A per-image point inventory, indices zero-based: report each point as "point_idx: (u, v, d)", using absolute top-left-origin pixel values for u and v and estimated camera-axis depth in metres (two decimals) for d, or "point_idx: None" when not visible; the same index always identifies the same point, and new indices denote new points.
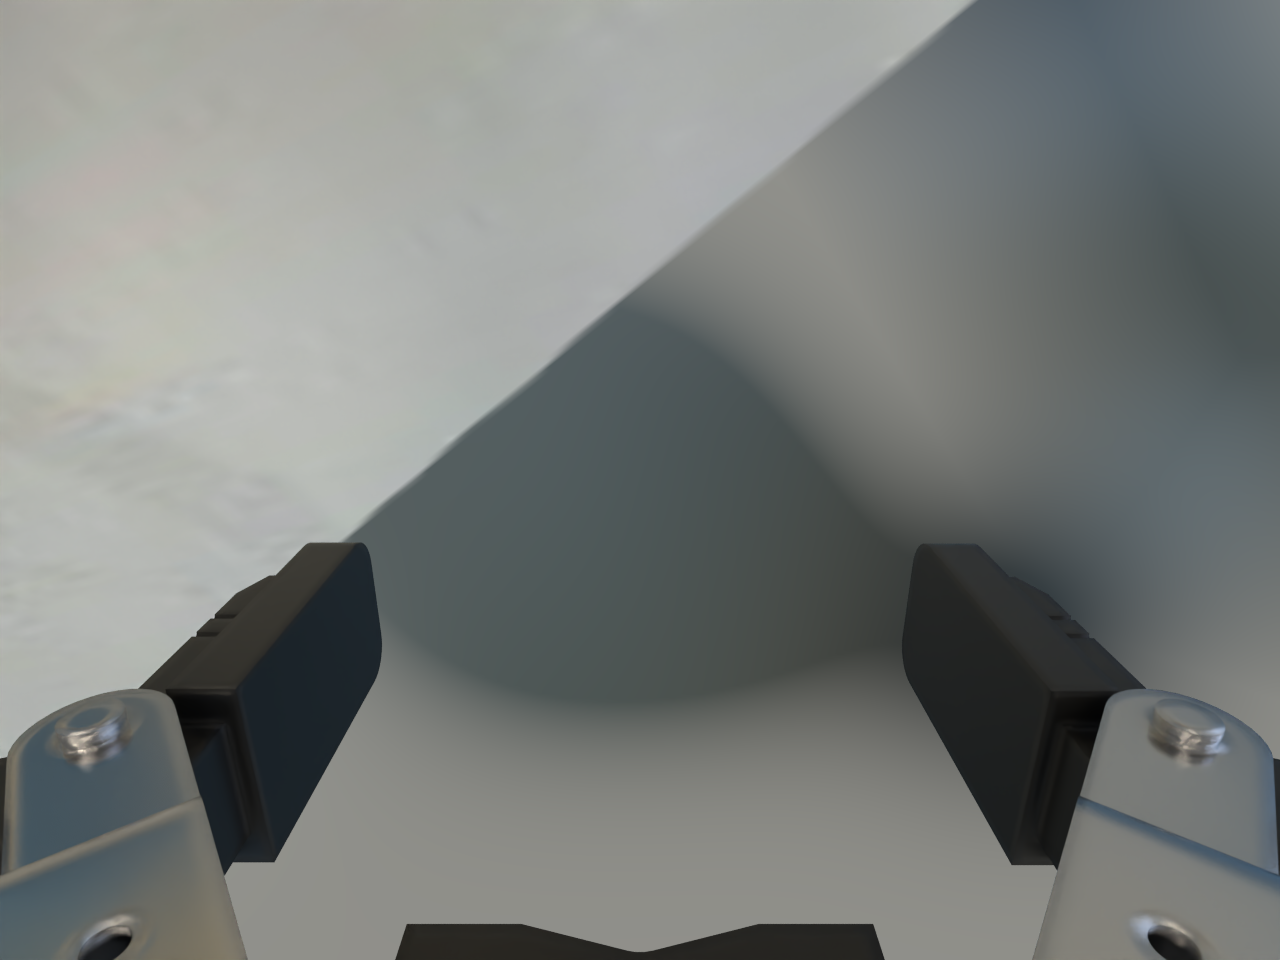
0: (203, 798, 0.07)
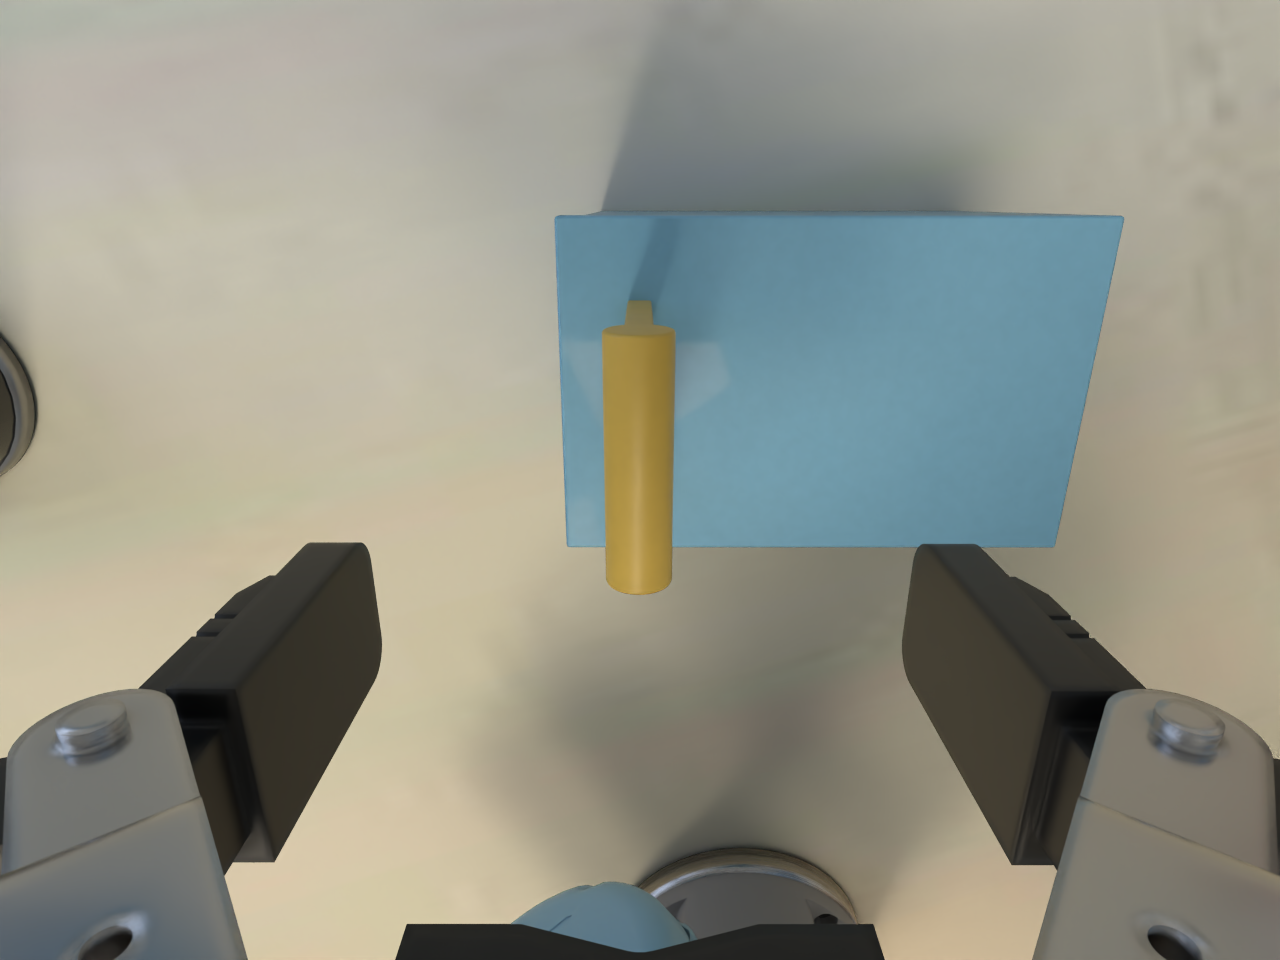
0: (203, 798, 0.07)
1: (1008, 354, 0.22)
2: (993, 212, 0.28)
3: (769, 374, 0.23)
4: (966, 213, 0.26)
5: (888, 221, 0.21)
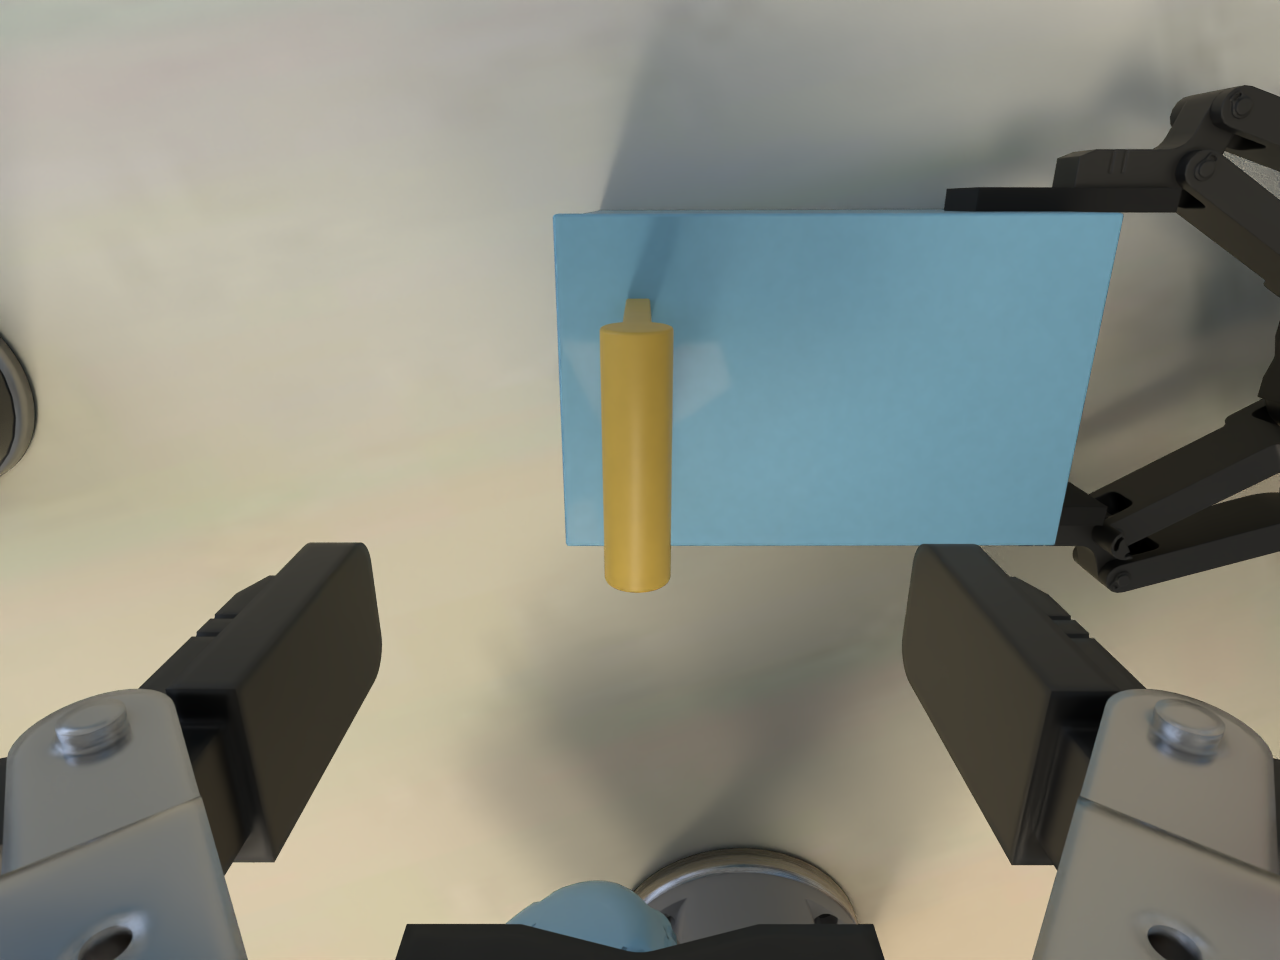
0: (203, 798, 0.07)
1: (1007, 351, 0.22)
2: None
3: (768, 373, 0.23)
4: None
5: (887, 218, 0.21)
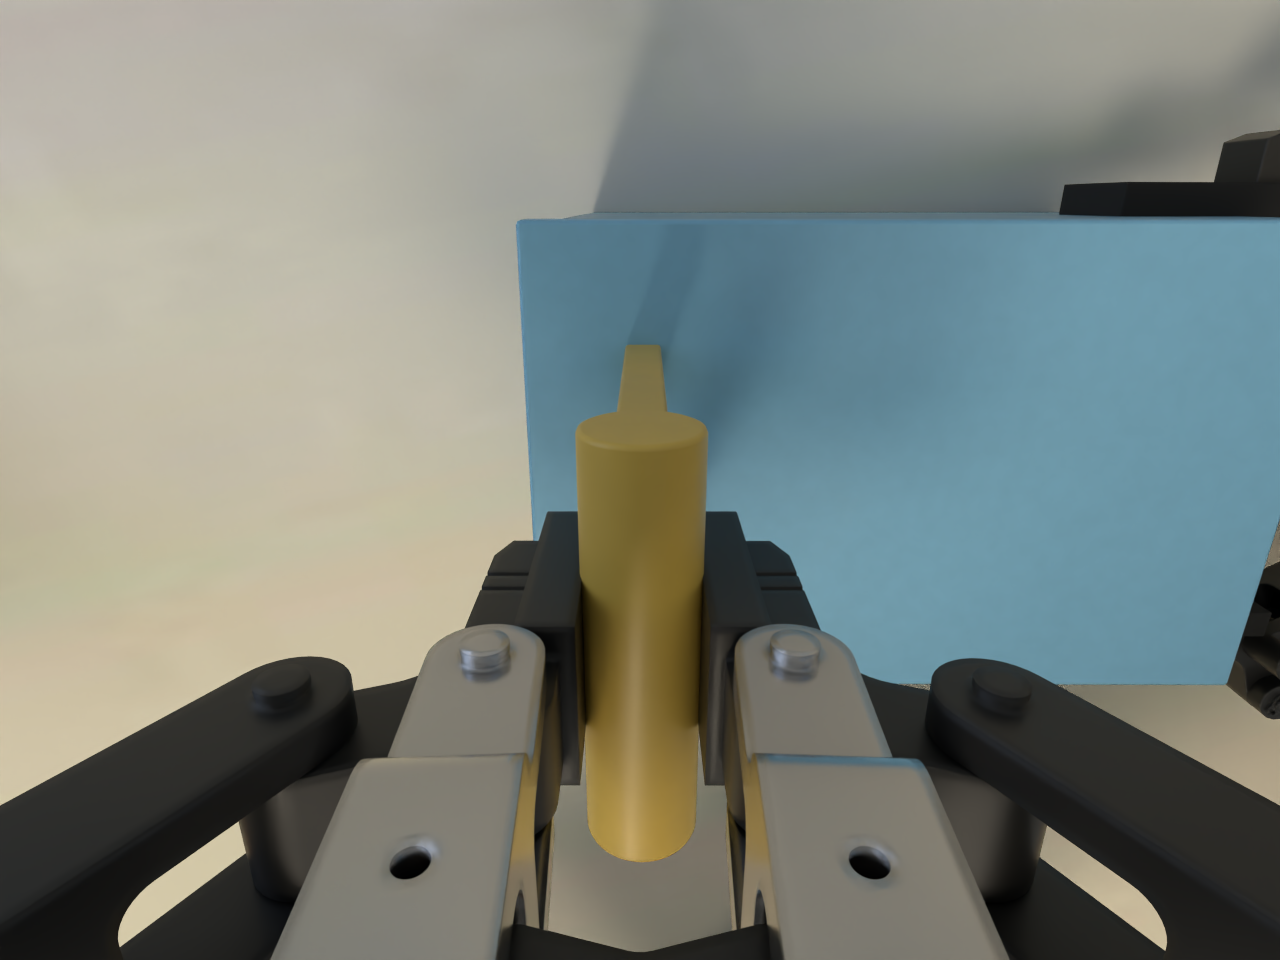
0: (556, 720, 0.08)
1: (1182, 422, 0.15)
2: None
3: (831, 450, 0.16)
4: None
5: (1017, 228, 0.14)
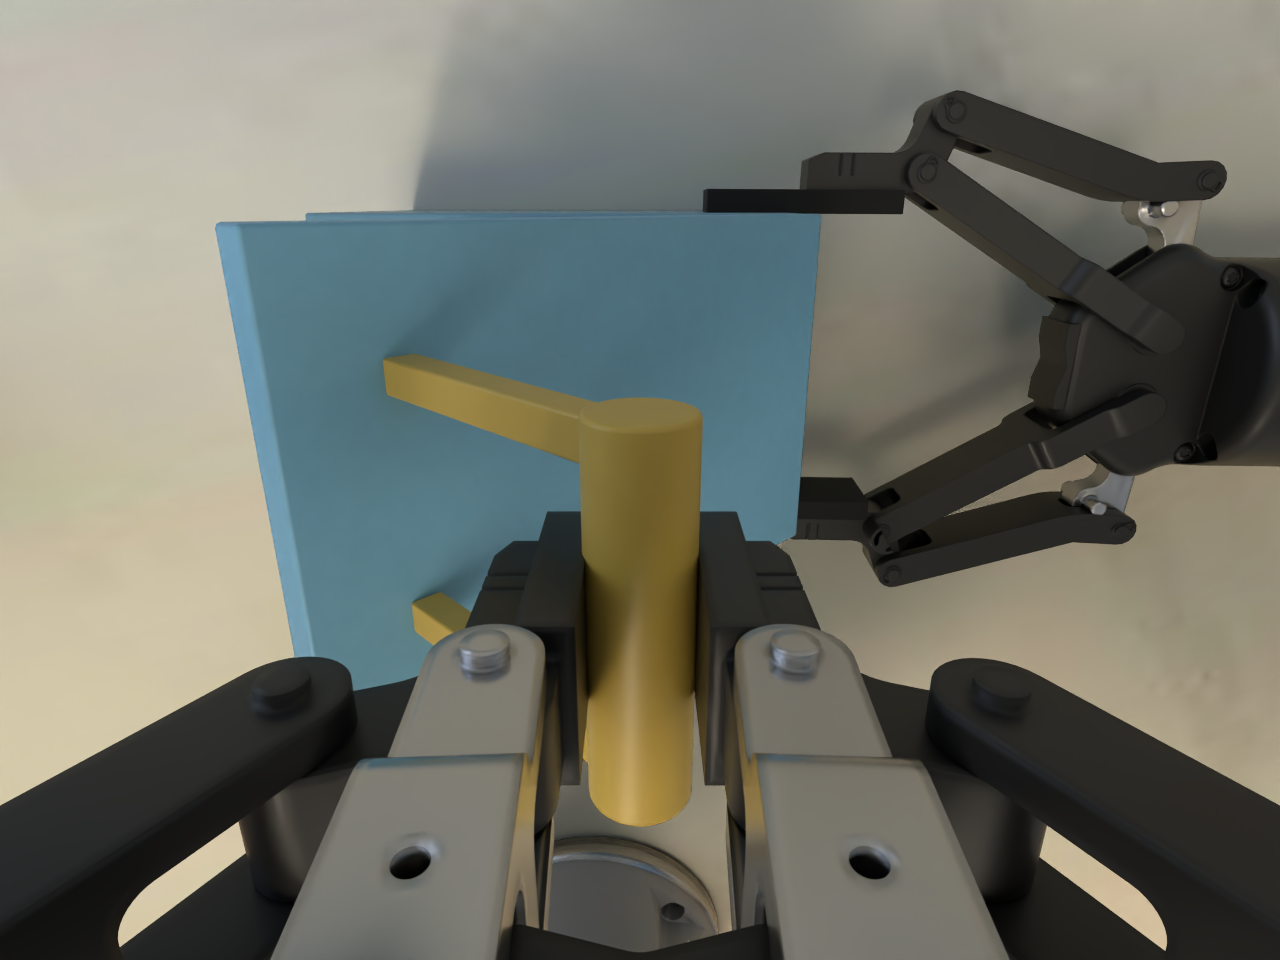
0: (555, 720, 0.08)
1: (760, 359, 0.22)
2: None
3: None
4: None
5: (664, 223, 0.18)
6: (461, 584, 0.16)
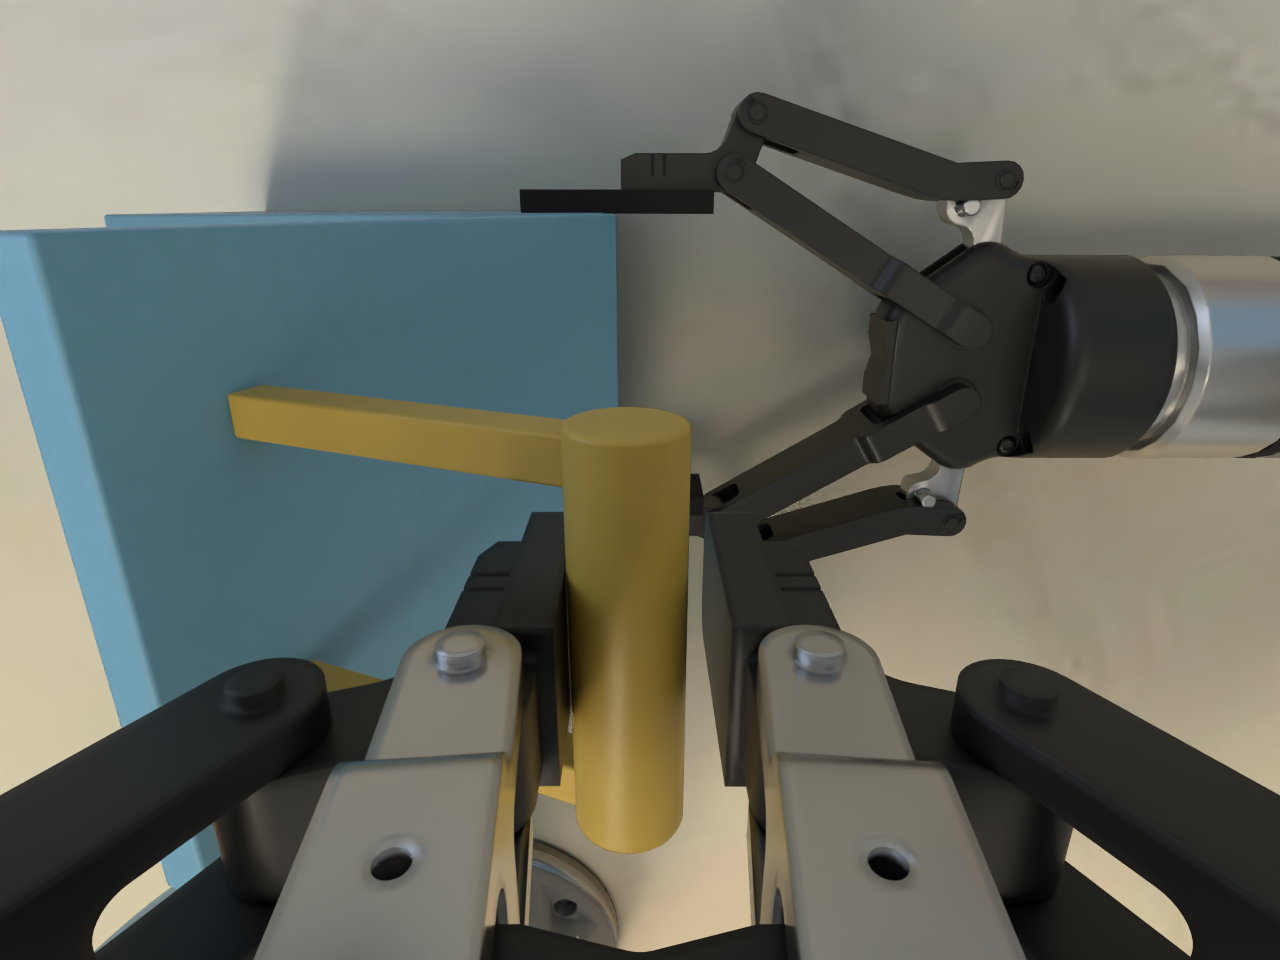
0: (533, 721, 0.08)
1: (580, 360, 0.21)
2: None
3: None
4: None
5: (492, 224, 0.17)
6: (333, 645, 0.14)
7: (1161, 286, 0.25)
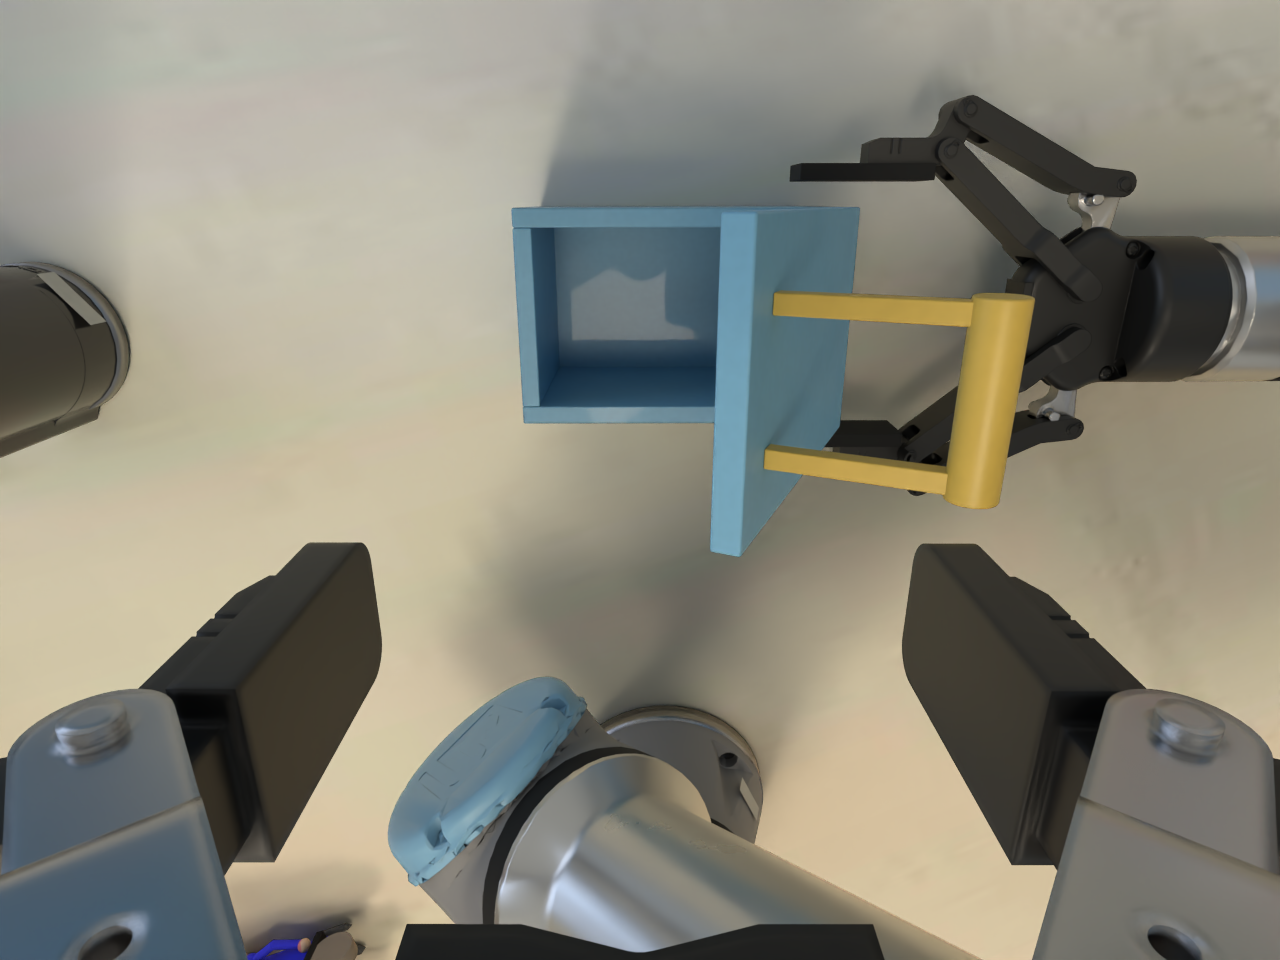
0: (203, 798, 0.07)
1: None
2: None
3: (801, 342, 0.27)
4: None
5: (829, 212, 0.28)
6: (774, 440, 0.25)
7: (1220, 256, 0.37)
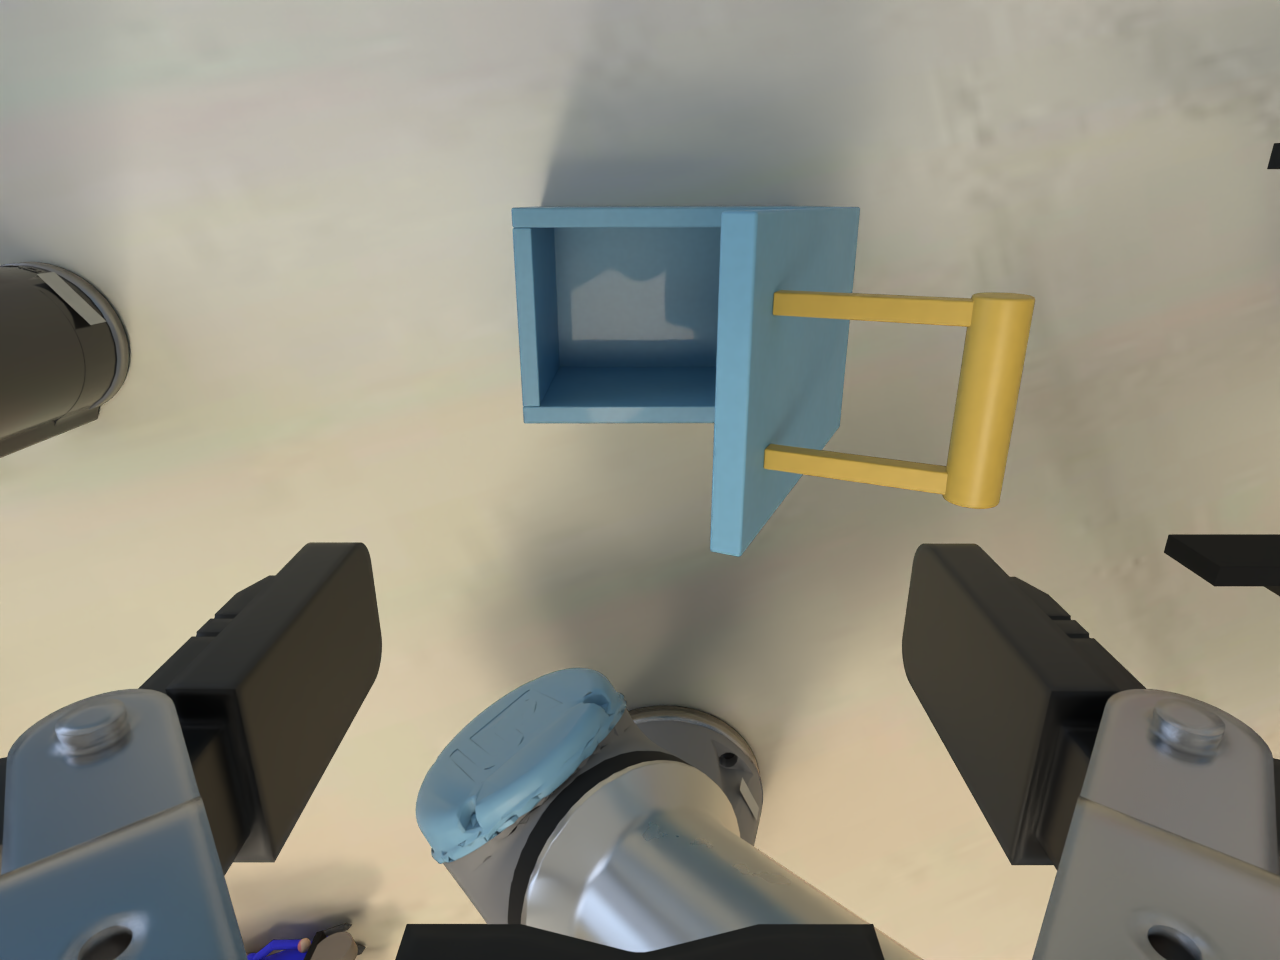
0: (203, 798, 0.07)
1: None
2: None
3: (801, 342, 0.27)
4: None
5: (829, 212, 0.28)
6: (773, 439, 0.25)
7: None
